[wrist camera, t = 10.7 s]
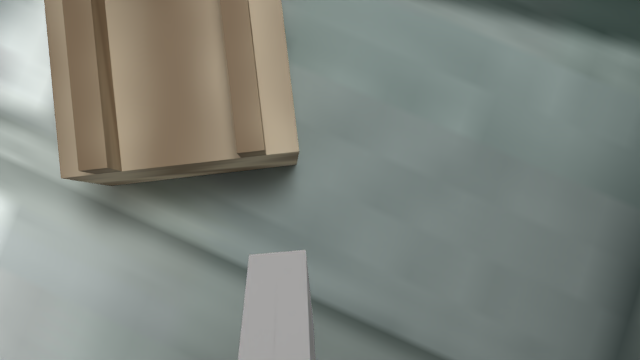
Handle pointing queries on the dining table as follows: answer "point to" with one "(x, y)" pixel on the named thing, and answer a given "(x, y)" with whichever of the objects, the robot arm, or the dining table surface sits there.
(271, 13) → the launcher
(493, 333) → the dining table surface
